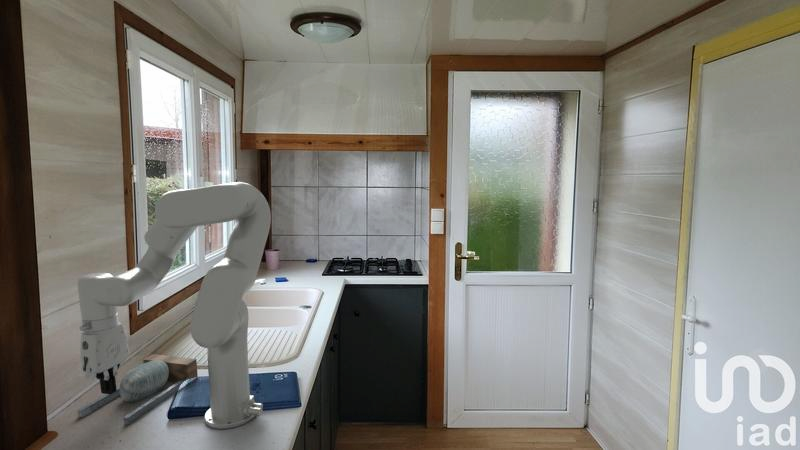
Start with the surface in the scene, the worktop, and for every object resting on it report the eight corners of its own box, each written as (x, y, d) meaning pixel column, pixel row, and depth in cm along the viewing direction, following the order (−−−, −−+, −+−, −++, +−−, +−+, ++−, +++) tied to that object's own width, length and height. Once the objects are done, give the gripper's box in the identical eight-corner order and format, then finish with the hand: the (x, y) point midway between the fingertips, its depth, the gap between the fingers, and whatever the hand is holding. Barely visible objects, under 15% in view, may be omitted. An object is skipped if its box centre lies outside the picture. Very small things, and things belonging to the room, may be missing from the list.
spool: (151, 367, 138) (153, 345, 133) (175, 385, 137) (178, 363, 132) (109, 398, 127) (110, 375, 122) (135, 418, 125) (137, 395, 120)
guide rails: (188, 384, 135) (188, 377, 135) (128, 425, 114) (127, 418, 113) (144, 378, 139) (144, 372, 138) (78, 417, 117) (77, 410, 117)
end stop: (197, 377, 139) (196, 359, 138) (188, 384, 135) (187, 364, 134) (154, 372, 142) (153, 354, 142) (144, 378, 139) (143, 359, 138)
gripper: (85, 335, 106) (95, 409, 108) (137, 314, 120) (144, 380, 123) (60, 332, 108) (69, 406, 110) (113, 312, 122) (121, 377, 125)
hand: (109, 392), depth 117 cm, fingers closed
